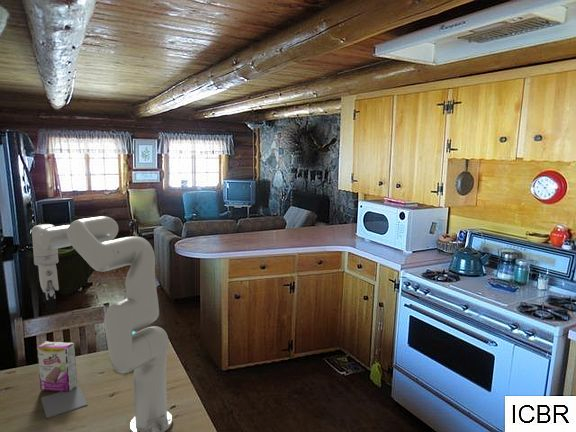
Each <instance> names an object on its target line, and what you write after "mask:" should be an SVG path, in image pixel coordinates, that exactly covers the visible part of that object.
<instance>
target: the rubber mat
mask: <svg viewBox="0 0 576 432" xmlns="http://www.w3.org/2000/svg"><path fill="white" fill-rule="evenodd" d="M40 400H41V404H42V408H43V411H44V416H45V418H46V419H50V418H52V417H55V416H59V415H62V414H65V413H69V412H71V411H75V410H77V409H81V408H83V407H86V406H87V407H88V403H87V400H86V398H85V396H84V394H83V391H82V389H81V387H80V386H76V387H74V388H73V389H72V390H71V391H70V392H63V391H57V392H56V393H51V394H49V395H46V396H42V397H40Z"/></svg>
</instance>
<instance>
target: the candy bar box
mask: <svg viewBox="0 0 576 432" xmlns="http://www.w3.org/2000/svg"><path fill="white" fill-rule="evenodd" d="M75 346H76V345H75V342H61V341H48V340H47V341H44V342H43V343H40V344H39V345H38V346H36V350H37V353H36V354H37V365H38V374H39V387H40V391H48V392H49V391H50V392H62V391H63V392H70V391H71V390H72V389H73V388H75V387H78V379H77V378H78V377H77V365H76V364H77V363H76V351H75V349H76V347H75Z"/></svg>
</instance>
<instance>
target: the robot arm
mask: <svg viewBox="0 0 576 432" xmlns="http://www.w3.org/2000/svg"><path fill="white" fill-rule="evenodd" d="M118 233H119V225H118V223H117V221H116V220H115V219H114V218H112V217H109V216H104V215H103V216H101V215H100V216H94V217H93V216H92V217H87V218H79V219H76V220H74V221H72V222H71V223H70V224H66V225H65V224H63V225H59V226H56V225H54V224H52V223H51V224H50V223H43V224H38V225H34V226H33V227H32V228H31V237H32V251H33V252H32V253H33V265H35V266H37V267H38V278H39V279H38V280H39V283H40V288H41V290H42V293H41V294H42V295H41V296H42V303H43V304H45V309H46V311H51V310H56V309H57V297H56V292H55V291H59V290H60V287H59V286H60V285H59V279H58V269H57V265H56V264H58V263H59V249H62V248H67V247H72V249H74V250H75V251H76V252H77V253H78V254H79V255H80V256H81V257H82V258H83V260H84V262H85V261H86V263H87V264H88V265H89V267H91V268H92V269H93V270H95V271H97V272H102V273H103V272H107V271H108V272H109V271H112V270H116V269H119V268H123V267H125V266H130V267H129V269H128V271H127V275H126V277H125V283H124V285H125V290H126V291H125V292H126V297H125V298H124V299H122V300H119V301H116V302H114V303H113V304H111V305H110V306H108V308H107V309H106V311H105V314H104V320H103V321H104V323H103V324H104V331H105V337H106V344H107V352H108V356H109V357H108V358H109V361H110V363H111V366H112V368H113V369H114V371H115V372H117V373H119V374H124V375H125V374H128V373H130V372H133V379H132V380H133V402H134V403H133V404H134V405H133V407H134V417H133V418H132V419H131V420H130V423H129V431H130V432H166V431H168V430H169V428H171V426H172V424H173V415H172V413H170V411H168V406H167V405H168V403H167V401H168V399H167V358H168V351H169V345H170V344H169V342H170V341H169V337H168V334H167V332H166V331H165V329H164V328H162V327H160V326H155V325H154V326H149V325H150V324H152V323H154V322H155V321H156V320H157V319H158V318H159V315H160V307H159V298H158V292H157V283H156V275H155V273H156V255H155V251H154V248H153V247H152V245H151V243H150V242H149V241H148V240H147V239H146V238H144V237H142V236H136V235H134V236H125V237H120V238H116V237H117V235H118ZM146 326H148V327H146ZM139 329H140V330H139ZM137 330H138V331H137ZM133 331H135V332H136V333H134V334H132V332H133Z"/></svg>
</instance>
